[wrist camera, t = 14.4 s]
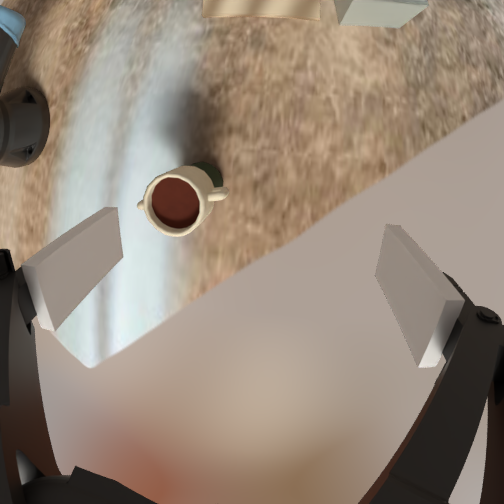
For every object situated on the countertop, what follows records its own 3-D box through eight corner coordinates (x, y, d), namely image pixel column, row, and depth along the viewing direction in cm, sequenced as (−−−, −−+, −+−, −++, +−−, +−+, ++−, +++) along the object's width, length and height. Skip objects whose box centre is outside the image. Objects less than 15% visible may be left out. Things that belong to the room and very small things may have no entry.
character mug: (172, 210, 47) (135, 241, 35) (164, 164, 44) (122, 180, 32) (243, 202, 45) (227, 232, 33) (236, 153, 42) (216, 165, 30)
